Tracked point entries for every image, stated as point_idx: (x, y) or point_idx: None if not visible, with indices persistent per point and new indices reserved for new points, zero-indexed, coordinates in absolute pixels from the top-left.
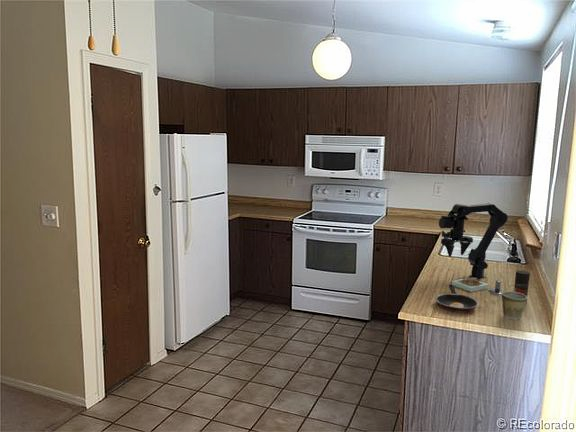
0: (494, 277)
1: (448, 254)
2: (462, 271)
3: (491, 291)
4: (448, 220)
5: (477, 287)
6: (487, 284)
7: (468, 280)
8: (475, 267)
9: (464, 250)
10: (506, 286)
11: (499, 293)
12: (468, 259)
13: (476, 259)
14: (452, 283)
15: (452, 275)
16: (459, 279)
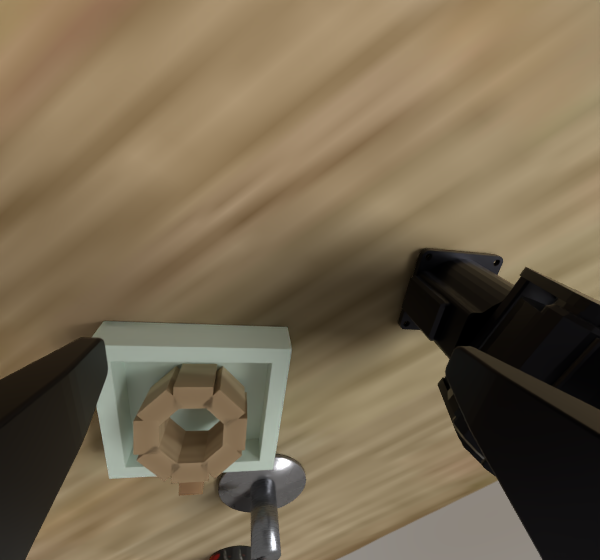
0: None
1: (27, 375)
2: (531, 122)
3: (242, 476)
4: None
5: None
6: (267, 469)
7: (142, 459)
8: (459, 343)
9: (509, 499)
10: (396, 445)
11: (250, 500)
12: (530, 309)
13: (478, 448)
14: (96, 335)
15: (347, 146)
16: (181, 347)
